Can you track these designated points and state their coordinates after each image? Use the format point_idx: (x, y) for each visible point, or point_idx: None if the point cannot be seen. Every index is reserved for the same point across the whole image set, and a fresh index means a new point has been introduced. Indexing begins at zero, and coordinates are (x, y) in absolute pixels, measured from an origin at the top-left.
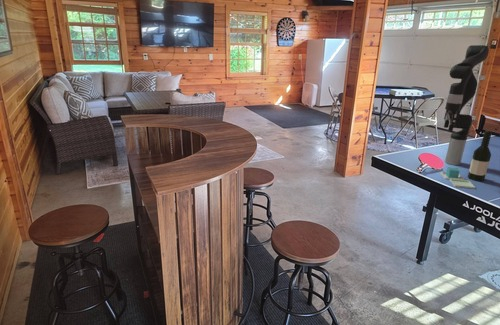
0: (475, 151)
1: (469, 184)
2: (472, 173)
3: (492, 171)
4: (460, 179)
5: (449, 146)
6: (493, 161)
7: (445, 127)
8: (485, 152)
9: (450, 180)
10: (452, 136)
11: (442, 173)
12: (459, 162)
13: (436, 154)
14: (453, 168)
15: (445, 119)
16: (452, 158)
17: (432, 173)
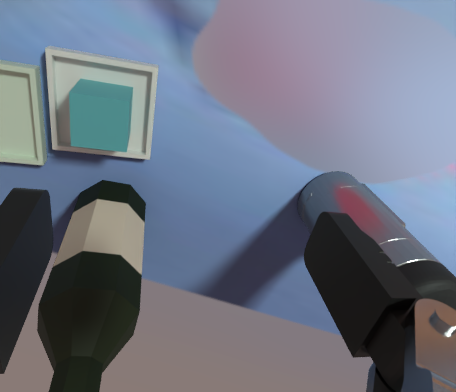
0: (91, 294)
1: (2, 150)
2: (87, 204)
3: (229, 295)
4: (52, 130)
5: (382, 222)
6: (331, 328)
7: (317, 227)
8: (42, 334)
9: (17, 64)
10: (421, 272)
11: (126, 64)
12: (303, 221)
13: (448, 177)
14: (110, 127)
15: (445, 345)
16: (320, 201)
17: (156, 13)
